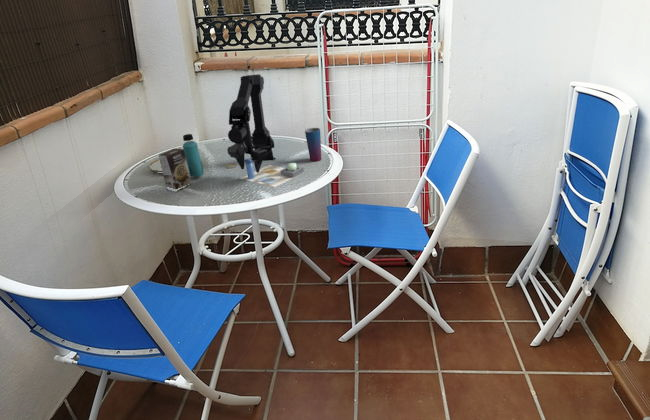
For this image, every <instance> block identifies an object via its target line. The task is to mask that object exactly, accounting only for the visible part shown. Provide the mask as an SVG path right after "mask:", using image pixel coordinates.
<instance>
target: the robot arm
mask: <svg viewBox="0 0 650 420" xmlns="http://www.w3.org/2000/svg"><path fill="white" fill-rule="evenodd" d="M264 85H265V79H264V77H263V76H262V75H261V74H260V73H259V74H258V73H257V74H246V75H242V76H241V77H240V84H239V88H238V93H237V97H236V99H235V100H234V101H233V102H232V103H231V105H230V108H229V112H228V125H229V126H231V127H230V130H229V131H228V133H227V138H228V139H229V141H230V142H231V143H233V145H230V146H228V148H227V150H226V151H227V154H228V155H229V157H230V158H233V159H235V160H236V161H237V163H238V165H239V168H240V169H241V170H244V169H245V154H246V155H250V157H251V158H250V159H251V160H252V162H253V163H254V168H255V172H257V173H258V172H259V170H260V169H261V168H262V165H263V164H262V163H263V161H264V162H265V161H275V160H276V157H275V156H274V154H273V150H272V149H275V141H274V139H273V138H272V136H271V133H270V131H269V130H268V128H267V127H266V124H265V115H264V109H263V101H262V94H263V91H264ZM249 102H251V108H252V109H250V106H249ZM251 111H252V112H251ZM251 113H252V116H253V122H254V130H253V132H252V133H251V127H250V123H249V122H251Z"/></svg>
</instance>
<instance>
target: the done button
mask: <svg viewBox="0 0 650 420" xmlns="http://www.w3.org/2000/svg"><path fill="white" fill-rule="evenodd" d="M296 166H297V163H296V162H289V163H287V164H286V168H287V170H288V171H291V172H293V171H295V170H297V167H296Z"/></svg>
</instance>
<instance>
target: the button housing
mask: <svg viewBox="0 0 650 420" xmlns="http://www.w3.org/2000/svg"><path fill="white" fill-rule="evenodd" d="M296 167H297V170H295V171H293V172H291V171H288V170H287V167H284V168H285V169H283V170H281V175H283V176H288V177H293V178H292V179H294V178H295V176H296V177H297V175H298V176H299V175H301V174H303V173H305V168H304V167H303V166H298V165H296Z"/></svg>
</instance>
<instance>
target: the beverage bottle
mask: <svg viewBox="0 0 650 420" xmlns="http://www.w3.org/2000/svg"><path fill="white" fill-rule="evenodd" d="M182 138H183V139H182V140H183V141H184V142H183V145H182V149H184V152H185V156H186V160H187V165H188V169H189V173H190V178H197V177H201V176H203V175H204V172H205V171H204V167H203V162H202V158H201V155H200V152H199V148H198V143H197V142H195V141H193V140H194V137H193V134H192V133H186V134H184V135H183V136H182Z"/></svg>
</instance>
